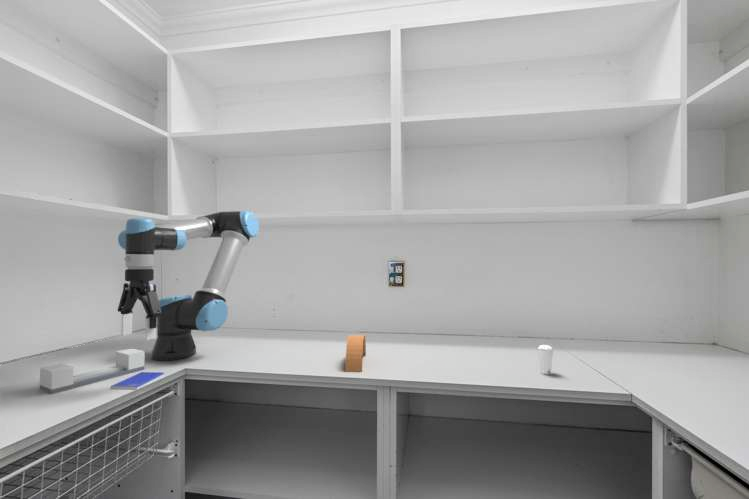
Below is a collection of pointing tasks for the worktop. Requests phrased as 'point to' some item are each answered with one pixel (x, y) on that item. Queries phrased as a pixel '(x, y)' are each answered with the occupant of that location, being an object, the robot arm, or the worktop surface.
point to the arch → (355, 353)
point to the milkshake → (545, 358)
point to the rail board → (63, 379)
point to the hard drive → (138, 380)
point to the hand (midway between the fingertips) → (138, 336)
